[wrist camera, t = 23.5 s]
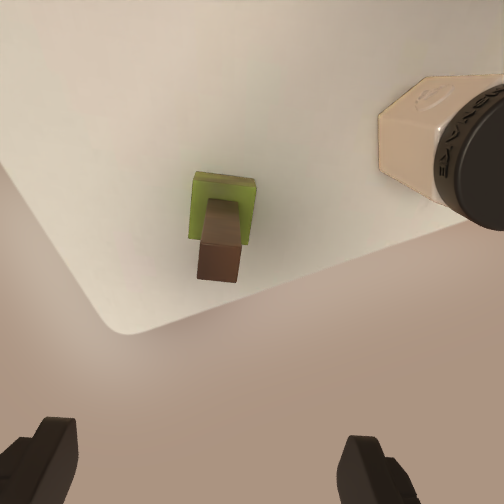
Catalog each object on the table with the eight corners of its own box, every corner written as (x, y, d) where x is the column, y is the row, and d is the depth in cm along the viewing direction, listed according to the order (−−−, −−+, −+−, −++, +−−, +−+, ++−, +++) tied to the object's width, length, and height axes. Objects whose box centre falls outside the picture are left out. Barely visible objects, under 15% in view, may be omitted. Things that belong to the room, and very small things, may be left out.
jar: (449, 53, 28) (587, 34, 17) (492, 137, 31) (633, 166, 20) (353, 131, 30) (422, 158, 19) (401, 203, 33) (485, 262, 22)
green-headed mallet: (254, 178, 32) (267, 228, 21) (246, 232, 34) (254, 304, 23) (196, 171, 31) (178, 218, 20) (191, 226, 33) (173, 296, 22)
